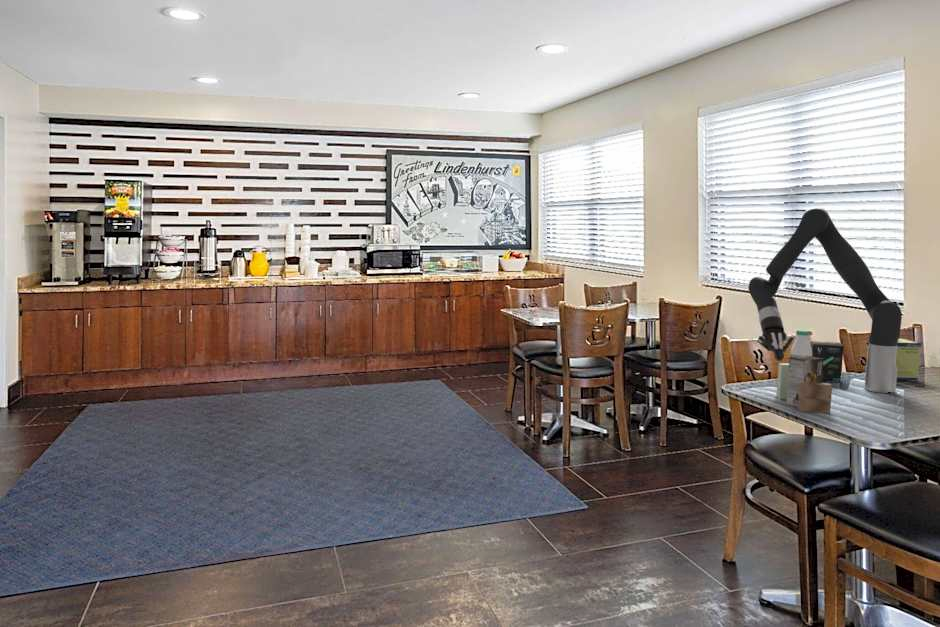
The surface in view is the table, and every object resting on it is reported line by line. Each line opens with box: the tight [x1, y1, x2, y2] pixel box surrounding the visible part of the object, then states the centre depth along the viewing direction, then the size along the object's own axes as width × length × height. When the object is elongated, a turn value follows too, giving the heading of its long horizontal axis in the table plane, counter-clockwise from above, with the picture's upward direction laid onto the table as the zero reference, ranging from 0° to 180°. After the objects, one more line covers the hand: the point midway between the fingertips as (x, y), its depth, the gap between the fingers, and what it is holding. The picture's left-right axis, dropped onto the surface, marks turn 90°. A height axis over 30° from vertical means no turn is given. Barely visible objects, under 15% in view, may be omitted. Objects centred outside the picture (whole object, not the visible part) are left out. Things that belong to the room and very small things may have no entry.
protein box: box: [895, 338, 922, 381], centre depth 289 cm, size 10×16×16 cm
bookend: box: [775, 362, 789, 400], centre depth 250 cm, size 8×3×12 cm, turn 87°
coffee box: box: [786, 356, 823, 408], centre depth 240 cm, size 9×6×16 cm
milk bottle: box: [789, 329, 812, 358], centre depth 278 cm, size 8×8×20 cm
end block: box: [797, 382, 833, 413], centre depth 232 cm, size 9×3×9 cm, turn 87°
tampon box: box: [810, 340, 844, 383], centre depth 284 cm, size 11×9×15 cm
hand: (780, 359), depth 259 cm, fingers closed
